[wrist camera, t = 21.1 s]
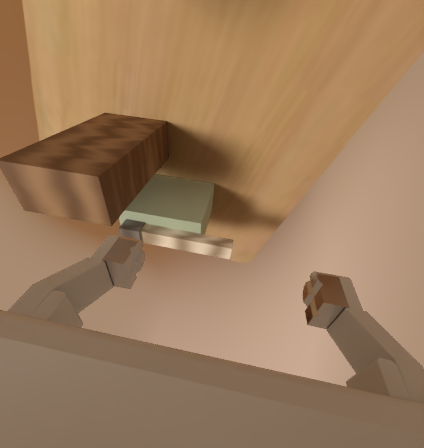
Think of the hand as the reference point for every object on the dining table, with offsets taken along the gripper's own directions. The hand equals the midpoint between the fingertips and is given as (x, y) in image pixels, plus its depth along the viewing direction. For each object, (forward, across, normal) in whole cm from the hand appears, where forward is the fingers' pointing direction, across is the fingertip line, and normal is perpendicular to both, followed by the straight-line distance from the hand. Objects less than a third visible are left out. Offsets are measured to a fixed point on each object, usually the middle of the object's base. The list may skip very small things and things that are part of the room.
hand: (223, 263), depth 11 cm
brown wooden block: (+41, +24, +10) cm, 49 cm away
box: (+41, +14, +23) cm, 49 cm away
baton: (+25, +10, +23) cm, 35 cm away
